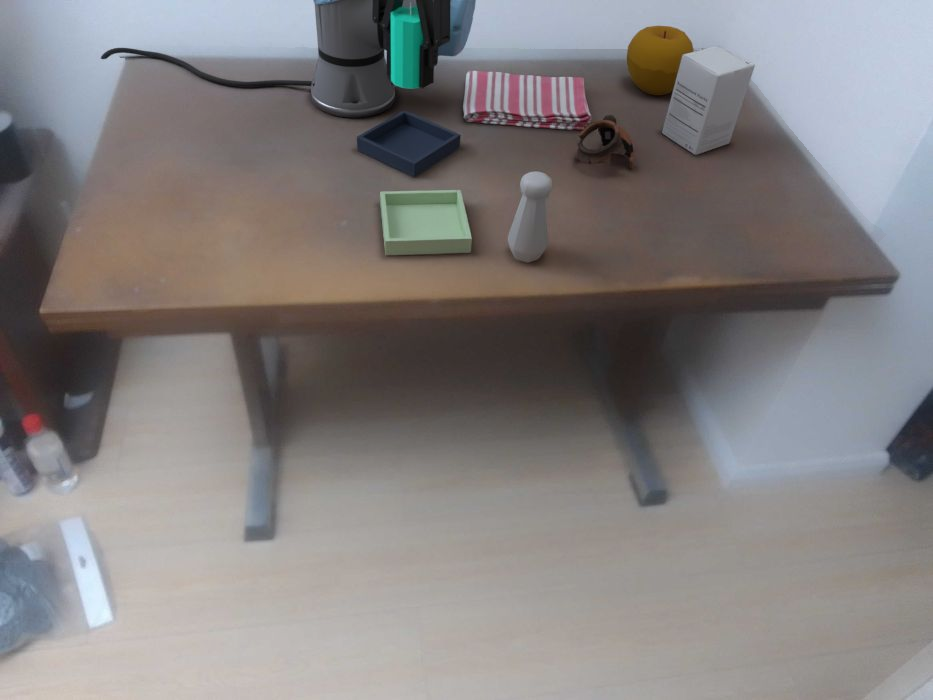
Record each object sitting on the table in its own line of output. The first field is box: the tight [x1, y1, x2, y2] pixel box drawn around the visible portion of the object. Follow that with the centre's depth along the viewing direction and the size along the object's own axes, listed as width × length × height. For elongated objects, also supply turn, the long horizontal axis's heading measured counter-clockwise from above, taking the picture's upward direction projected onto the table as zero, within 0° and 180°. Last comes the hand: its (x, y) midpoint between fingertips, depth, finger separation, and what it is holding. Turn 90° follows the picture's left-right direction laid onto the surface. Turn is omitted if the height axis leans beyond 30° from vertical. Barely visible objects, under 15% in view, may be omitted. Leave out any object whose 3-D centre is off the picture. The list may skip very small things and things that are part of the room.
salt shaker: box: [507, 171, 553, 264], centre depth 107 cm, size 6×6×13 cm
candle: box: [391, 2, 424, 90], centre depth 117 cm, size 6×6×12 cm
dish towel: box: [462, 69, 592, 131], centre depth 143 cm, size 17×23×4 cm
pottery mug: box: [575, 114, 635, 170], centre depth 130 cm, size 12×10×8 cm
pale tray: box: [379, 189, 473, 256], centre depth 114 cm, size 12×12×3 cm
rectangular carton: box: [661, 44, 756, 156], centre depth 134 cm, size 9×9×15 cm
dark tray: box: [356, 109, 462, 178], centre depth 129 cm, size 12×12×3 cm
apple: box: [626, 25, 695, 96], centre depth 149 cm, size 13×13×11 cm
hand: (410, 77), depth 121 cm, fingers closed on candle, 6 cm apart
